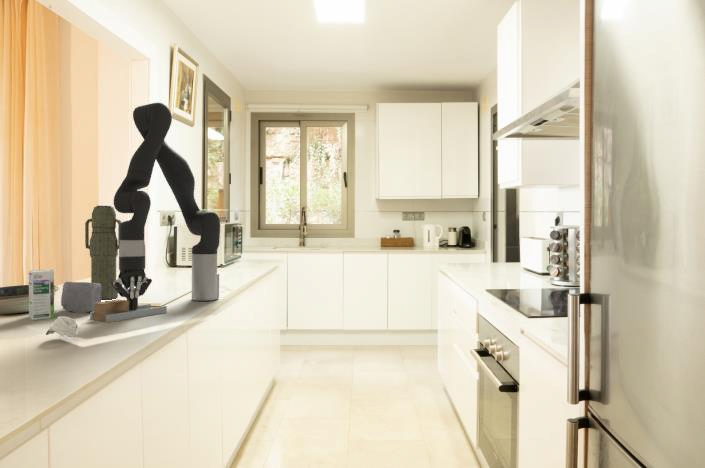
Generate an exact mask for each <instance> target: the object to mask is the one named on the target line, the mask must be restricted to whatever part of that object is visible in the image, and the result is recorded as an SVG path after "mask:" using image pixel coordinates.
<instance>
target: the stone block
mask: <svg viewBox="0 0 705 468" xmlns="http://www.w3.org/2000/svg"><path fill="white" fill-rule="evenodd" d="M98 302H101V284H98V283H91V282H83V281H81V282H80V281H79V282H77V281H65V282H63V285H62V291H61V296H60V304H61V307H62V309H63V310H65V311H69V312H72V313H84V314H85V313H86V314H87V313H90V312H94V303H98Z"/></svg>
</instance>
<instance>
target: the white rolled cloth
mask: <svg viewBox="0 0 705 468" xmlns="http://www.w3.org/2000/svg"><path fill="white" fill-rule="evenodd" d="M79 330H80V327H79V325H78V323H77V321H76V320H75V319H73V318H72V317H69V316H57V318H56V319H55V320H54V322H53V324H50V326H49V328H48V330H47V331H46V332H45V335H46V336H48V335H52V334H55V333H56V334H58V336H60V337H64V336H67V337H75V336H77V335H79V332H80V331H79Z"/></svg>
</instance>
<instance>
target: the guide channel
mask: <svg viewBox="0 0 705 468" xmlns="http://www.w3.org/2000/svg"><path fill="white" fill-rule="evenodd" d="M167 309H168V306H165V305H161V306H156V307H152V304H151V303H146V304H141V305H140V304H139V305H138V307H137V309H136V310H133V311H130V310H129V312H122V313H116V314H109V315H106V321H105V323H112V322H117V321H122V320H124V321H125V320H130V319H136V318H142V317H148V316H153V315H160V314H165V313H168V312H167ZM89 319H90V320H94V311H93V312H89Z"/></svg>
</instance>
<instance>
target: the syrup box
mask: <svg viewBox="0 0 705 468" xmlns="http://www.w3.org/2000/svg"><path fill="white" fill-rule="evenodd" d="M28 318H29V319H30V320H31V321H37V320H47V319H49V320H50V319H54V318H55V271H54V270H53V269H39V270H38V269H35V270H34V269H33V270H31V269H30V270H29V271H28Z"/></svg>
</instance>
